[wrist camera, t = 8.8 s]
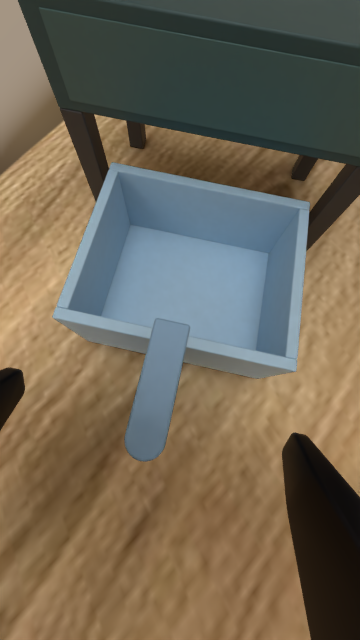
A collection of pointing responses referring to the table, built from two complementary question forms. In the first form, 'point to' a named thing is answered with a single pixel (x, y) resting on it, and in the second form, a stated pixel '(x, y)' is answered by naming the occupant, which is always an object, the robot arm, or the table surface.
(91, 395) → the table surface
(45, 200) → the table surface
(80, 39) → the cabinet
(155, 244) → the drawer
